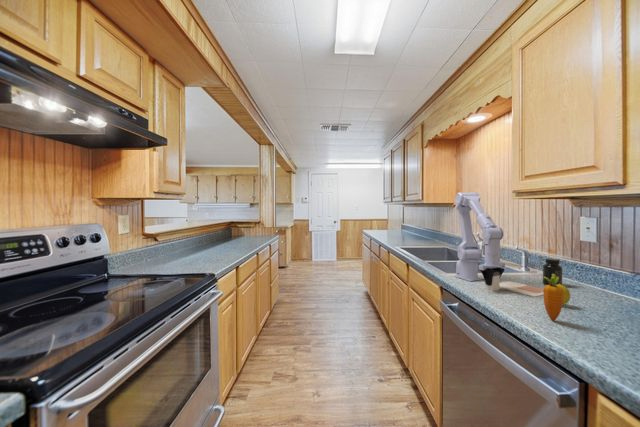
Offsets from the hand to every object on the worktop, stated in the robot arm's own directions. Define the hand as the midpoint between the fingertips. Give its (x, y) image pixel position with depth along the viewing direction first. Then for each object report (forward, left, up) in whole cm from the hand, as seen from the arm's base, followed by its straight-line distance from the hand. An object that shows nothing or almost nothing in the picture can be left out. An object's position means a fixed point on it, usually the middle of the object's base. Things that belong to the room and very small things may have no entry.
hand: (492, 284), depth 118 cm
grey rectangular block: (0, 0, -2) cm, 2 cm away
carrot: (+30, -14, -2) cm, 33 cm away
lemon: (+23, +4, -2) cm, 23 cm away
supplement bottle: (+7, +31, -2) cm, 32 cm away
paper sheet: (+5, +12, -2) cm, 13 cm away
